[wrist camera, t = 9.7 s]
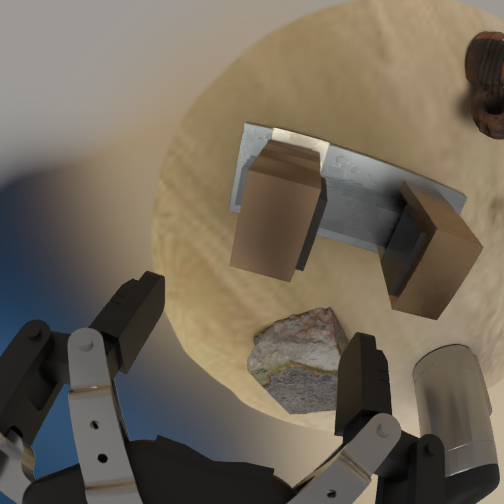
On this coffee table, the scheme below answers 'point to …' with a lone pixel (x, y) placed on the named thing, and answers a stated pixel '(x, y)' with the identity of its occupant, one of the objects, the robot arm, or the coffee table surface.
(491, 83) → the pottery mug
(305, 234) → the brown wooden block
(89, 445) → the robot arm
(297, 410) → the geological specimen
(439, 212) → the grey and brown stand
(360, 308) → the coffee table surface
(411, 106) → the coffee table surface
